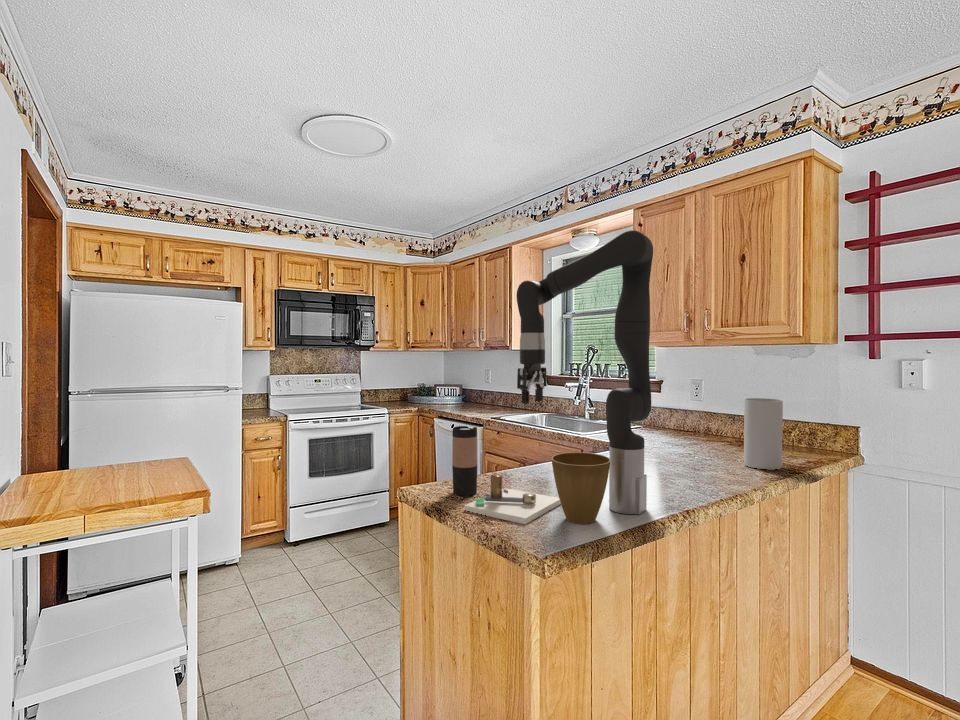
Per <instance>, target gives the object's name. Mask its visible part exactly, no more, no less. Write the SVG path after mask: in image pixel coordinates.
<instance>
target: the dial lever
mask: <svg viewBox="0 0 960 720" xmlns="http://www.w3.org/2000/svg"><path fill="white" fill-rule="evenodd" d="M502 489H503V475H502V474H499V473H498V474H491V475H490V494H491V496H486V501H496V502H519V503H525V504H535V503H536V495H535V494H536V493H535V494H532V493H533V492H529V493H525V494H523V498H517V497H502Z"/></svg>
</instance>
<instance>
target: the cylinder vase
mask: <svg viewBox="0 0 960 720" xmlns="http://www.w3.org/2000/svg"><path fill="white" fill-rule="evenodd" d="M743 401H744V402H743V403H744V404H743V405H744V406H743V409H744V411H743V414H744V415H743V416H744V417H743V419H744V420H743V425H744V426H743V465H744V466H746V467H747V466H748V467H747V468H750V467H751V469H754V468H757V469H756V470H760V469H767V470H766V471H776V470H775V469H778V470H781V469H782V467H783V429H784V428H783V425H784V423H783V421H784V420H783V415H784V413H783V408H784V400H782V399H777V398H776V399H775V398H761V397H760V398H759V397H758V398H757V397H754V398H753V397H752V398H744V399H743Z"/></svg>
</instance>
